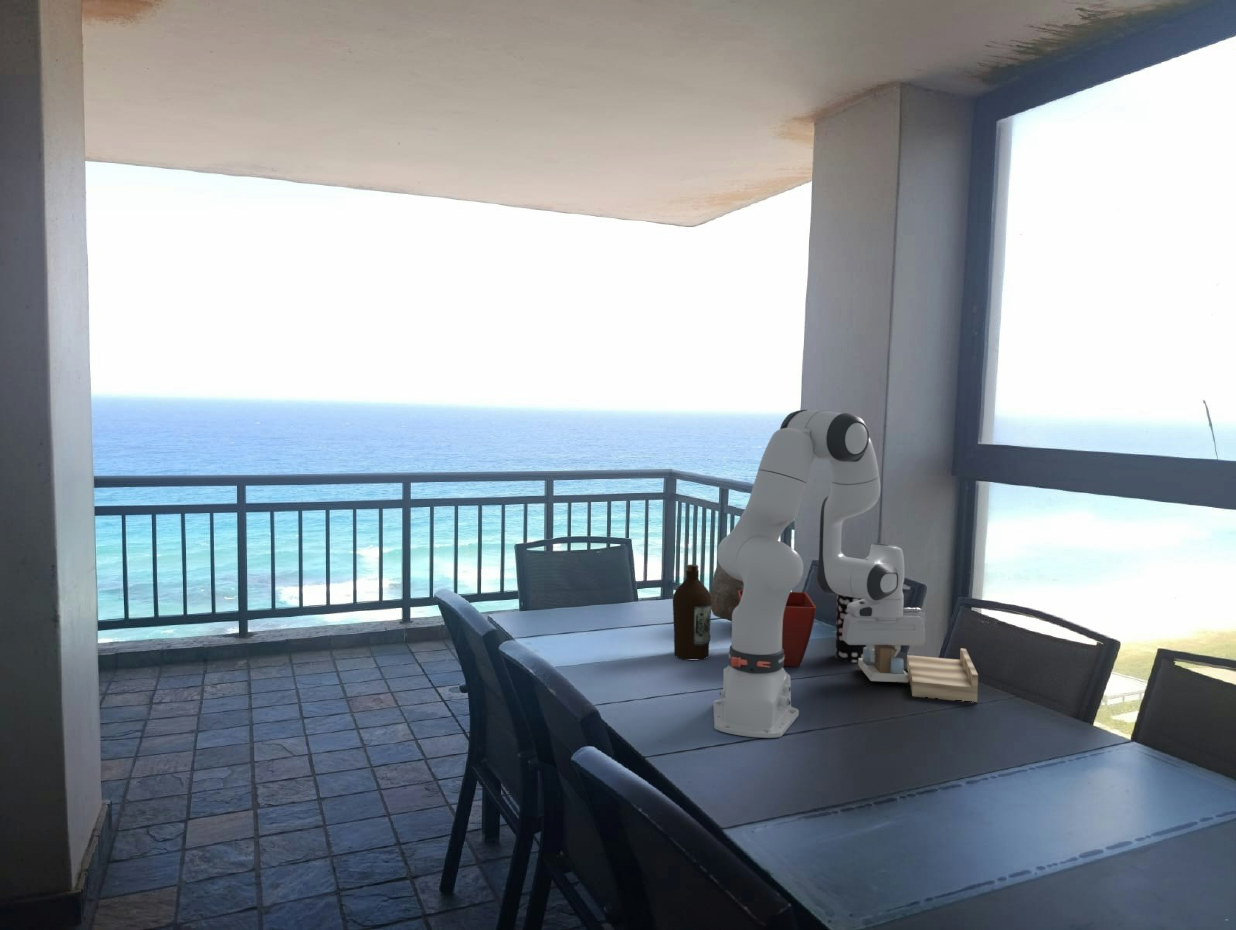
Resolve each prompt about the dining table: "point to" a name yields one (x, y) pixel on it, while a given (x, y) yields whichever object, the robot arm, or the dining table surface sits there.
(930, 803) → the dining table surface
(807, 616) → the plant pot
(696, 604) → the olive oil
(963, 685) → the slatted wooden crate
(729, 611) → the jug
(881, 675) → the caddy tray
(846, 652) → the white-spotted black cylinder
